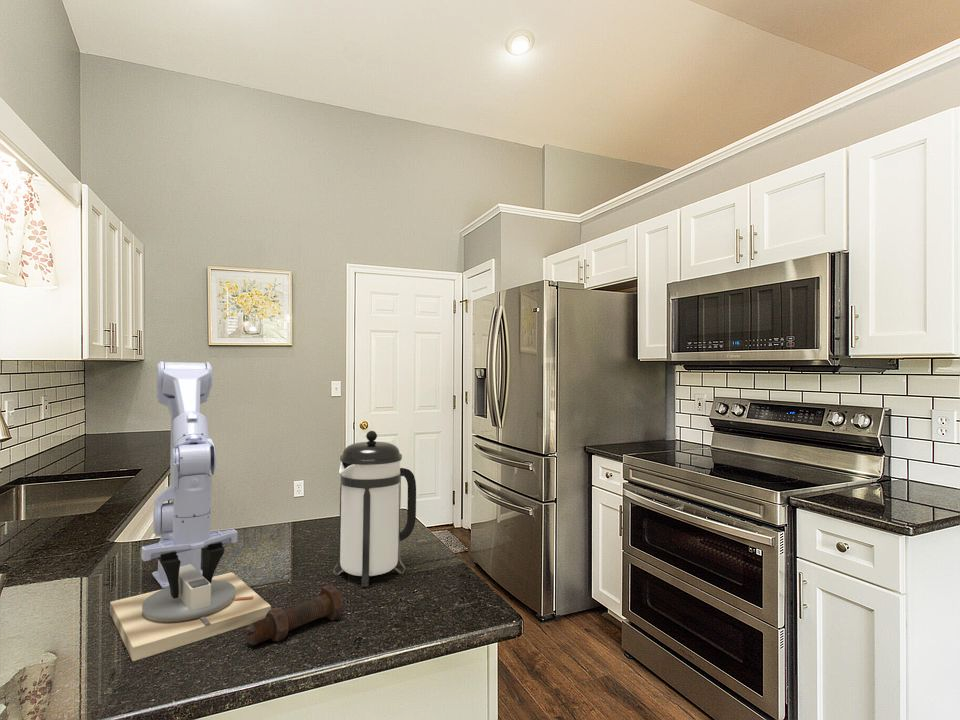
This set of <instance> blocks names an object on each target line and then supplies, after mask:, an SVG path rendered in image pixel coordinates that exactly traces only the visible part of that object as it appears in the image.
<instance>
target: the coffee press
mask: <svg viewBox="0 0 960 720" xmlns="http://www.w3.org/2000/svg"><path fill="white" fill-rule="evenodd" d="M365 437H366V440H368V441H362V442H361V441H360V442H355V443H352V444H350V445H348V446H346V447H345V448H344V449H343V452H342V454H341V455H339V456H340V457H339V461H340V466H339V469H338V474H339V475H340V477H339V478H340V485H339V486H340V487H339V489H340V490H339V538H338V539H339V541H338V544H339V546H338V548H339V549H338V562H337V563H336V565H335V567H333V568H334V569H332V574H333V576H336V577H337V576H340V574H341V573H343V572H345V573H346V574H349V575H352V576H357V577H361V583H360V584H361V586H360V587H361V588H369V586H370V578H371V577H373V576H374V577H375V576H378V575H383V574H386V573H389V572H390V571H393V570H394V571H396V573H397V574H399V575H403V574H405V572H406V566H405V565H404V563H403V562H402V560H401V542H402V541H404V540H406V539H407V538H408V537H409V536H410V535H411V534H412V533H413V532H414V531H413V530H414V527H415V525H416V517H417V482H416V481H417V480H416V477H415V475H414V473H413V472H412V470H410V469H409V468H404V467H401V461H402V460H403V455H402V454H401V453H400V449H399V448H398V447H397V446H396V445H394V444H392V443H390V442H385V441H376V439H377V437H378V434H377V432H376V431H375V430H370V431H368V432H367V433H366V435H365ZM402 477H404V478H405V480H406V483H407V508H406V509H407V512H406V513H407V514H406V516H407V517H406V519H407V520H406V523H405V526H404V528H403V530H401V501H402V500H401V498H402V497H401V496H402V489H401V488H402V486H401V485H402V482H401V481H402ZM398 562H399V564H400V566H401V567H402V568H403V570H400V569H399V568H397V567H396V566H397V565H398ZM339 564H340V567H341V570H340V571H339V572H337V571H336V568H337V567H338V566H339ZM401 571H403V572H402V573H400V572H401Z"/></svg>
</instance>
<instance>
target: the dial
mask: <svg viewBox="0 0 960 720" xmlns="http://www.w3.org/2000/svg"><path fill="white" fill-rule="evenodd" d="M161 589H162V590H161ZM161 589H159V590H160V591H158V592H156V593H154V594H152V595H151V596H149V597H148V598H147V599H146V600H145V601H144V602H143V604H142V614H143V616H144V617H145V618H147V619H149V620H153V621H159V622H175V621H184V620H190V619H194V618H199V617H202V616H205V615H209V614H211V613H214V612H216V611H218V610H220V609H222V608H224V607H226V606H227V605H228V604H230V603H231V602H232V601H233V599H234V598H235V587H234V586H233V585H232V584H231V583H229V582H225V581H220V580H212V581H211V584H210V583H209V582H208V581H207V580H206V579H205V578H204V577H203V576H202V575H201V574H200V573H199V572H198V571H197V570H196V569H195V568H194V567H193V566H192V565H191V564H189V565H185V566H180V569H179V597H178V598H175V599H173V597H172V596H171V591H170V587H167V588H161Z"/></svg>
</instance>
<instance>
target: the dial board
mask: <svg viewBox="0 0 960 720" xmlns="http://www.w3.org/2000/svg"><path fill="white" fill-rule="evenodd" d="M212 580H220V581H225V582H229V583H231V584H232V585H233V586H234V587H235V598H234V599H233V601H232V602H231V603H230V604H228V605H227V606H226V607H224V608H222V609H220V610H218V611H216V612H214V613H211V614H209V615H205V616H202V617H199V618H194V619H190V620H184V621H175V622H159V621H153V620H149V619H147V618H145V617H144V616H143V614H142V604H143V602H144V601H145V600H146V599H147V598H148V597H149V596H151V595H152V594H154V593H156V592H158V591H160V590H162V589H163V588H161V589H158V590H153V591H150V592H146V593H141V594H138V595H134V596H129V597H125V598H120V599H117V600H112V601H110V602H109V603H110V604H109V605H110V606H109V614H110V616H111V619H112V621H113V624H114V625H115V628H116V629H117V631H118V633H119V636H120V638H121V640H122V643H124V646H125V648H126V651H127V652H128V654H129V657H130V659H131V661H132V662H136V661H139V660H143V659H146V658H148V657H152V656H155V655H158V654H160V653H164V652H166V651H167V652H168V651H171V650H174V649H176V648H179V647H183V646H185V645H189V644H193V643H195V642H199V641H202V640H205V639H208V638H211V637H214V636H218V635H221V634H224V633H227V632H230V631H233V630H236V629H239V628H243V627H246V626H249V625H250V624H251V623H254V622H256V621H258V620H262V619H264V618H265V617H266V614H267V613H268V611H269V610H271V609H272V606H271V605H270V603H268V602H267V601H266V600H265V599H263V598H262V597H261V596H260V595H259V594H258V593H256V592H255V590H253V589H252V587H250V586H249V585H247V584H246V583H245V582H244V581H243V580H242V579H240V577H239V576H237V575H236V574H235V573H234V572H232V571H231V572H228V573H223V574H219V575H215V576H214V575H213V578H212Z"/></svg>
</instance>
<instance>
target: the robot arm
mask: <svg viewBox="0 0 960 720" xmlns="http://www.w3.org/2000/svg"><path fill="white" fill-rule="evenodd" d="M155 385H156V398H157V399H158V400H157V401H158V403H159V404H161V405H164V406H166V407H167V409H168V412H169V415H170V462H169V463H170V472H169V476H170V477H169V478H170V479H169V481H170V485H169V486H168V487H166V488H165V489H164V490H162V491H160V492H159V493H158V494H157V495H156V496H155V499H154V506H153V514H152V515H153V521H152V522H153V523H152V524H153V525H152V526H153V527H152V528H153V534H154V535H155V536H157V537H160V539H159V541H158V542H155V543H153V544H152V543H151V544H148V545H143V546H141V560H142V561H143V562H149V561H151V560H152V559H155V558H156V559H157V570H155V571H153V572H152V573H151V574H152V576H153V578H154V579H155V580H156V581H157V583H158V584H159V585H160V587H161V589H165V588H168V587H170V591H171V596H172V597H173V599H175V598H178V597H179V569H180V566H185V565H189V564H191V565H192V566H193V567H194V568H195V569H196V570H197V571H198V572H199V573H200V574H201V575H202V576H203V577H204V578H205V579H206V580H207V581H208V582H209V583H210V584H211V581H212V578H213V577H214V574H215V572H216V569H217V566H218V565H219V563H220V561H221V559H222V557H223V556H224V554H225V546H223V545H224V544H228V543H230V544H235V543H238V531H237V530H236V529H235V528H233V529H227V530H225V529H224V530H217V531H211V526H212V525H211V522H212V521H211V520H212V519H211V517H212V485H213V484H212V477H213V476H214V475H215V472H216V464H217V455H216V454H217V453H216V448H215V444H214V442H213V439H212V438H210V437H211V436H210V429H209V422H208V418H207V417H206V416H205V415H204V414H203V413H201V405H202V404H204V403H206V402H207V401H208V398H209V397H210V393H211V389H212V386H213V366H212V364H211V363H210V362H209V361H205V362H181V361H180V362H175V361H172V362H170V361H164V360H163V361H159V363H157V364H156V384H155ZM169 501H173V502H169ZM201 568H202V569H201Z"/></svg>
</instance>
